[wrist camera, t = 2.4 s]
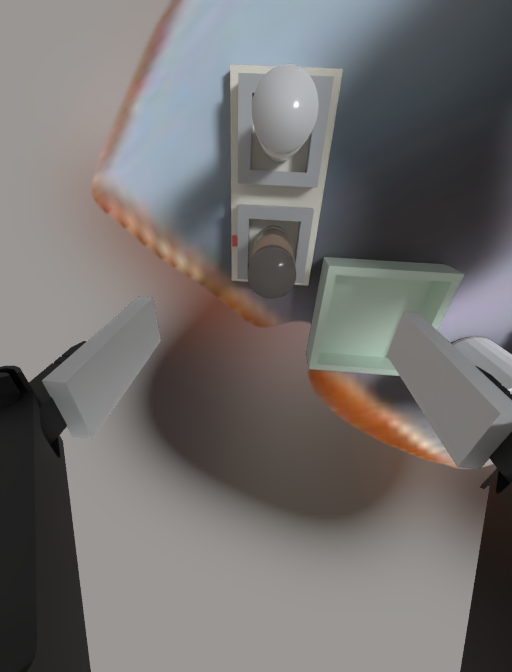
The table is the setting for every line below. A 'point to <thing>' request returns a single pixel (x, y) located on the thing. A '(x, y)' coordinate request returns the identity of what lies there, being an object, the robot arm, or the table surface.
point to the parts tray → (372, 310)
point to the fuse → (284, 110)
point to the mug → (488, 358)
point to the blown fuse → (272, 264)
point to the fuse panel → (277, 173)
